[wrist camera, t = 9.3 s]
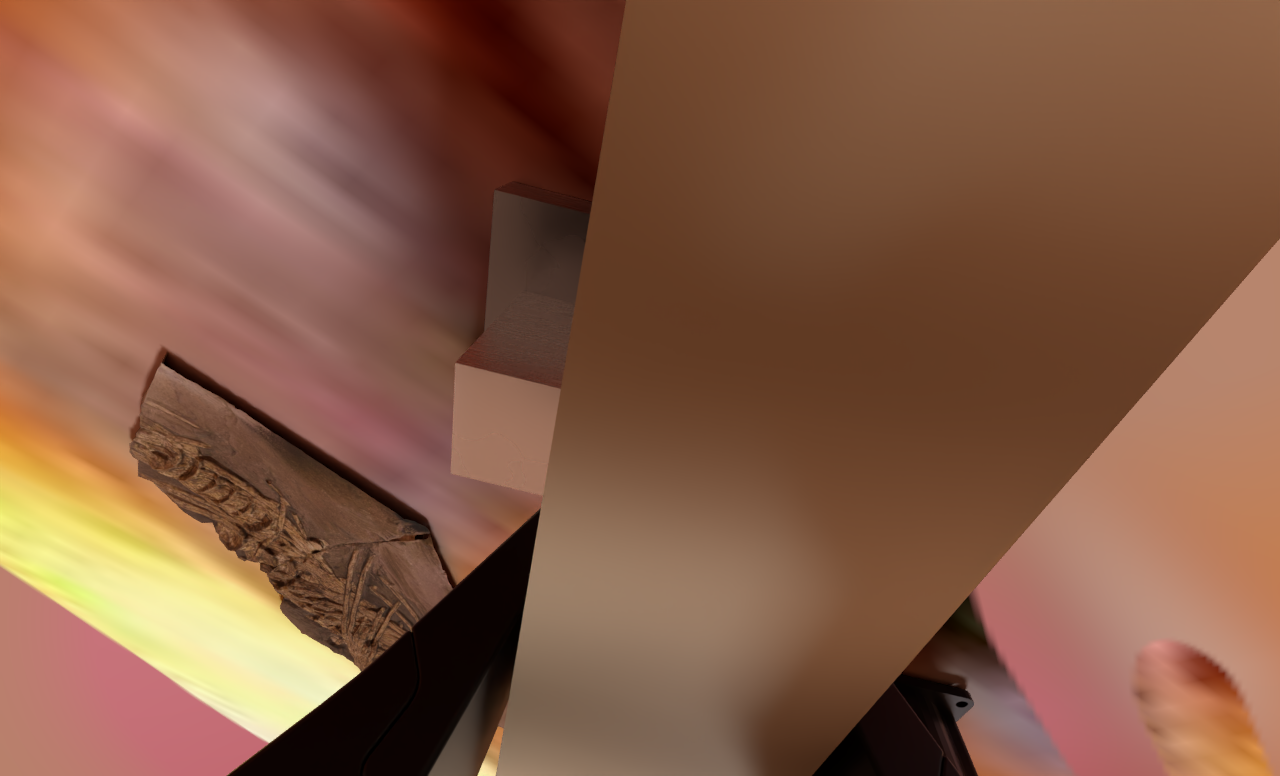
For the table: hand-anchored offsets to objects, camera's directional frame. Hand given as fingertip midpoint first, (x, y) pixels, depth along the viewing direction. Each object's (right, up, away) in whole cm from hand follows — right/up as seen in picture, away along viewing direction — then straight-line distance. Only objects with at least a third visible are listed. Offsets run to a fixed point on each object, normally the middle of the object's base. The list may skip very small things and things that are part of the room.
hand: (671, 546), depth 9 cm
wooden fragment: (-14, -6, +15) cm, 21 cm away
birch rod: (0, +1, +1) cm, 1 cm away
